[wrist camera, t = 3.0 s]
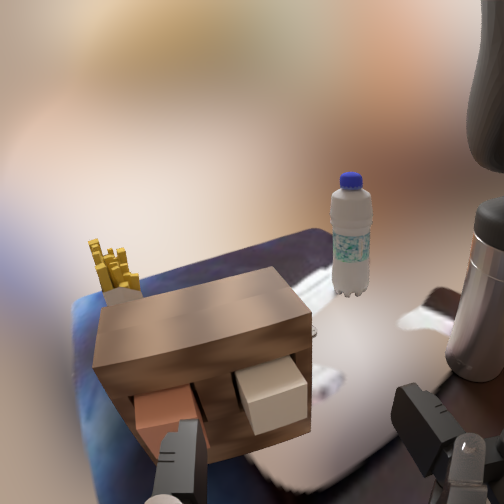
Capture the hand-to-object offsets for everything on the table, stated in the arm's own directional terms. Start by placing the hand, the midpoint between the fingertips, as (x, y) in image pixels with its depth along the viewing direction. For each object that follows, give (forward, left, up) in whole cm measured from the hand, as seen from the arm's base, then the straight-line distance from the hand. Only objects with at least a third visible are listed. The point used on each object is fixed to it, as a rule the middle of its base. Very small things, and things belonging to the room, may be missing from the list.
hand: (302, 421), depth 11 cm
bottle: (-23, -32, -19) cm, 44 cm away
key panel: (+3, -14, -19) cm, 24 cm away
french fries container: (+11, -29, -19) cm, 37 cm away
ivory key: (-1, -9, -11) cm, 15 cm away
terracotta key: (+7, -9, -11) cm, 16 cm away
